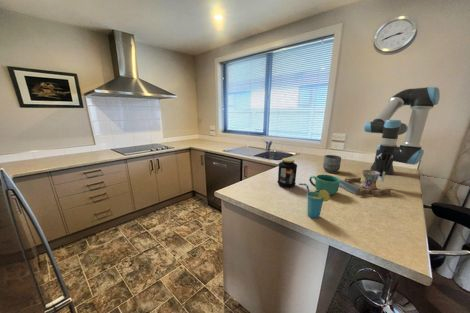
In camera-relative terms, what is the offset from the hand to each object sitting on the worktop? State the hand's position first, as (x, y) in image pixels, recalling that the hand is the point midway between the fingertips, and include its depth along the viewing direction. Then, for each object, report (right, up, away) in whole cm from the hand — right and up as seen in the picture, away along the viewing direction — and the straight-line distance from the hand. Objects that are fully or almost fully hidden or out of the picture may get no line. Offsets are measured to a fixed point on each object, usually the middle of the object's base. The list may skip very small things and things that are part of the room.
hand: (380, 180), depth 118 cm
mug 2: (-9, -4, -1) cm, 10 cm away
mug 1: (-41, -6, -7) cm, 42 cm away
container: (-61, -4, +3) cm, 61 cm away
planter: (-16, +3, +32) cm, 35 cm away
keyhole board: (-15, -5, -2) cm, 16 cm away
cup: (-59, -12, -32) cm, 68 cm away
